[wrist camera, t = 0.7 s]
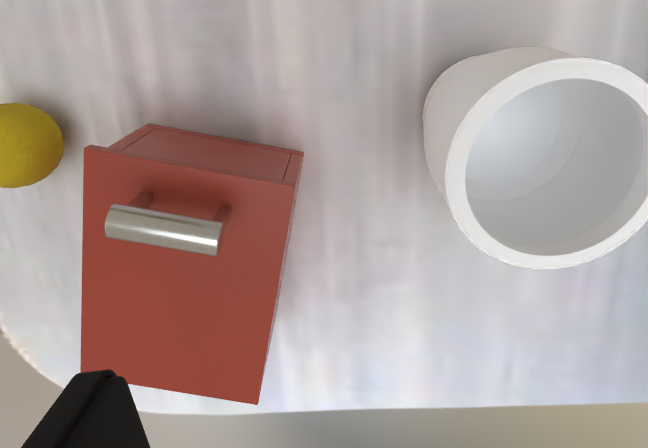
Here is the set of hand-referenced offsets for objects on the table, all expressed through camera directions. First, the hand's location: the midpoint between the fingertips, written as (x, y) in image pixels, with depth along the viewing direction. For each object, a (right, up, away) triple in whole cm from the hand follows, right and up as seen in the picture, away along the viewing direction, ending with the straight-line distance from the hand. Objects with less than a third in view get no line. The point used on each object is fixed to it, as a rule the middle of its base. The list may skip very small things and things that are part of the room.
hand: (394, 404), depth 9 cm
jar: (+10, +11, +30) cm, 33 cm away
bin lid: (-10, -1, +24) cm, 26 cm away
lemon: (-22, +10, +31) cm, 39 cm away
